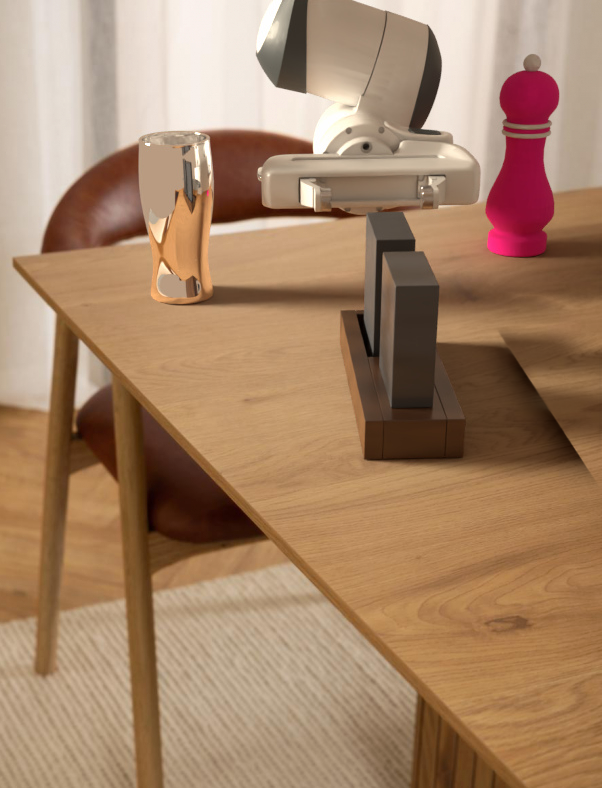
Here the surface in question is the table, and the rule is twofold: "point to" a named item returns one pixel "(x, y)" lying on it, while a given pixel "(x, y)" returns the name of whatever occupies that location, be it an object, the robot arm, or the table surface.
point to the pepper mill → (523, 164)
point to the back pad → (380, 267)
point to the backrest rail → (397, 421)
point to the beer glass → (177, 212)
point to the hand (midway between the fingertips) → (377, 201)
